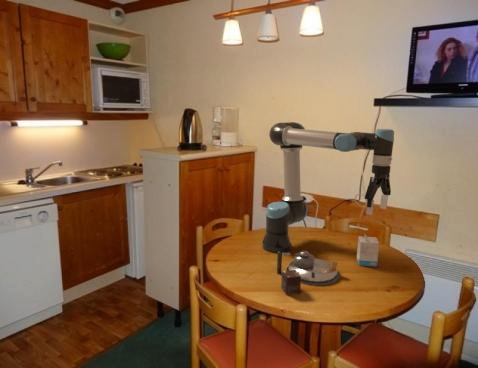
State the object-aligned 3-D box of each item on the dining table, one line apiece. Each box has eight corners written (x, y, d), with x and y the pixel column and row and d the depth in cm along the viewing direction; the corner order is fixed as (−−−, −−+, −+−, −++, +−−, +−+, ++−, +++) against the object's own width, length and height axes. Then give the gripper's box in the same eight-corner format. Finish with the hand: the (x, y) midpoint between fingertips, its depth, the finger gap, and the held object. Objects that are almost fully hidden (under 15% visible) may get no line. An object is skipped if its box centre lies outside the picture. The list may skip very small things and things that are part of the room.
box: (300, 293, 136) (301, 276, 135) (285, 295, 135) (286, 277, 133) (294, 286, 142) (295, 269, 140) (280, 287, 141) (281, 270, 139)
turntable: (279, 272, 152) (279, 259, 151) (303, 257, 168) (304, 246, 167) (322, 288, 139) (323, 274, 138) (345, 270, 155) (346, 258, 153)
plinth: (276, 273, 152) (276, 272, 152) (303, 257, 169) (303, 257, 169) (323, 291, 138) (323, 290, 138) (348, 272, 155) (348, 271, 155)
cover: (289, 265, 155) (290, 252, 154) (300, 258, 162) (300, 246, 161) (307, 271, 150) (308, 258, 148) (317, 264, 156) (318, 252, 155)
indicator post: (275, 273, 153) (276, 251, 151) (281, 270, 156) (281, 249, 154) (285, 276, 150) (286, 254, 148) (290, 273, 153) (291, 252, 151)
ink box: (377, 267, 160) (380, 239, 157) (358, 265, 162) (360, 238, 159) (374, 259, 168) (376, 233, 166) (356, 258, 170) (358, 232, 167)
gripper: (376, 168, 140) (371, 218, 145) (402, 163, 157) (396, 208, 162) (359, 166, 146) (354, 214, 150) (385, 161, 162) (380, 204, 167)
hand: (376, 211), depth 156 cm, fingers open, 13 cm apart
